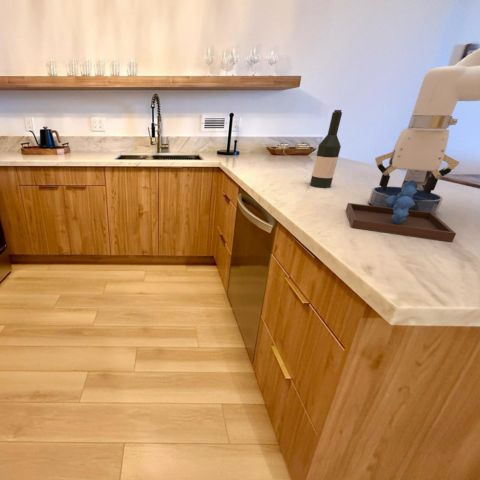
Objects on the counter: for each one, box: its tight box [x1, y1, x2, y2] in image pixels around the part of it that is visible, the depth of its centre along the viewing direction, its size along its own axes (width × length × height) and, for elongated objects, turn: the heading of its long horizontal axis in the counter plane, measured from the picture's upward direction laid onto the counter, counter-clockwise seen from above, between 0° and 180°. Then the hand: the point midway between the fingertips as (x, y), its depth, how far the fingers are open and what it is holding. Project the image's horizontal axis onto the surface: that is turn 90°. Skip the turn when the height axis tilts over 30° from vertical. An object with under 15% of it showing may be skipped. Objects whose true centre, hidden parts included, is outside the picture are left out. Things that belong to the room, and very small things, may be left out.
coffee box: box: [400, 170, 431, 190], centre depth 101 cm, size 9×6×16 cm
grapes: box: [385, 180, 418, 225], centre depth 80 cm, size 12×7×12 cm, turn 140°
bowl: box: [368, 185, 444, 215], centre depth 96 cm, size 18×18×5 cm
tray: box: [345, 202, 457, 243], centre depth 82 cm, size 22×18×2 cm
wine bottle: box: [309, 109, 343, 189], centre depth 118 cm, size 8×8×30 cm
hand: (404, 190), depth 79 cm, fingers open, 9 cm apart
